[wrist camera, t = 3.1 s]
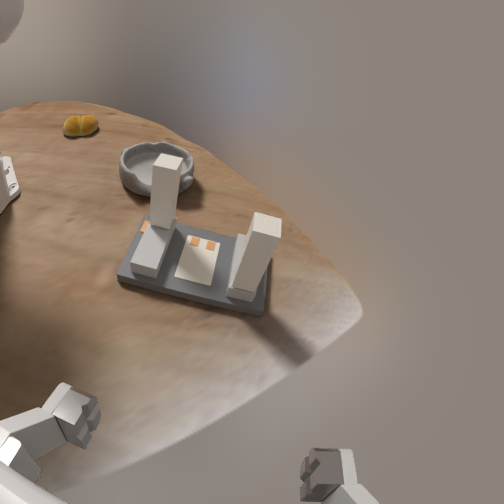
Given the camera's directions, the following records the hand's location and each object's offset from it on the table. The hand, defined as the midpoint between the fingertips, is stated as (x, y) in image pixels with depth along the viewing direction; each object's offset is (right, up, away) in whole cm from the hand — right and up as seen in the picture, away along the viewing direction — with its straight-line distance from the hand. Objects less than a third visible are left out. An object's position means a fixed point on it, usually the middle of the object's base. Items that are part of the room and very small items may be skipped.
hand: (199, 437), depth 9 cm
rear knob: (-11, +11, +33) cm, 36 cm away
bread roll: (-40, +36, +51) cm, 74 cm away
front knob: (+1, +3, +30) cm, 30 cm away
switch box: (-6, +5, +34) cm, 35 cm away
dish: (-17, +20, +45) cm, 52 cm away
